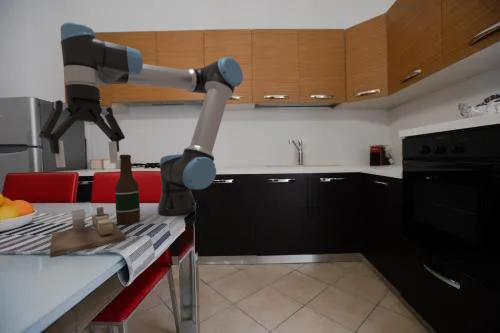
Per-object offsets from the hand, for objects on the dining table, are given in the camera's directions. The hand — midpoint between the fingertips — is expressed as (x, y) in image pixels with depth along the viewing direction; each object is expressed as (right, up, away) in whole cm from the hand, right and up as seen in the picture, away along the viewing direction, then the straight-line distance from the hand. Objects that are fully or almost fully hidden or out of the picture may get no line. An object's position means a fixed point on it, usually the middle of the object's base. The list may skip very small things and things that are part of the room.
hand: (90, 165), depth 65 cm
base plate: (-3, -21, +3) cm, 21 cm away
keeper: (-5, -20, +8) cm, 22 cm away
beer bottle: (+1, -20, +19) cm, 28 cm away
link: (0, -19, +6) cm, 20 cm away
